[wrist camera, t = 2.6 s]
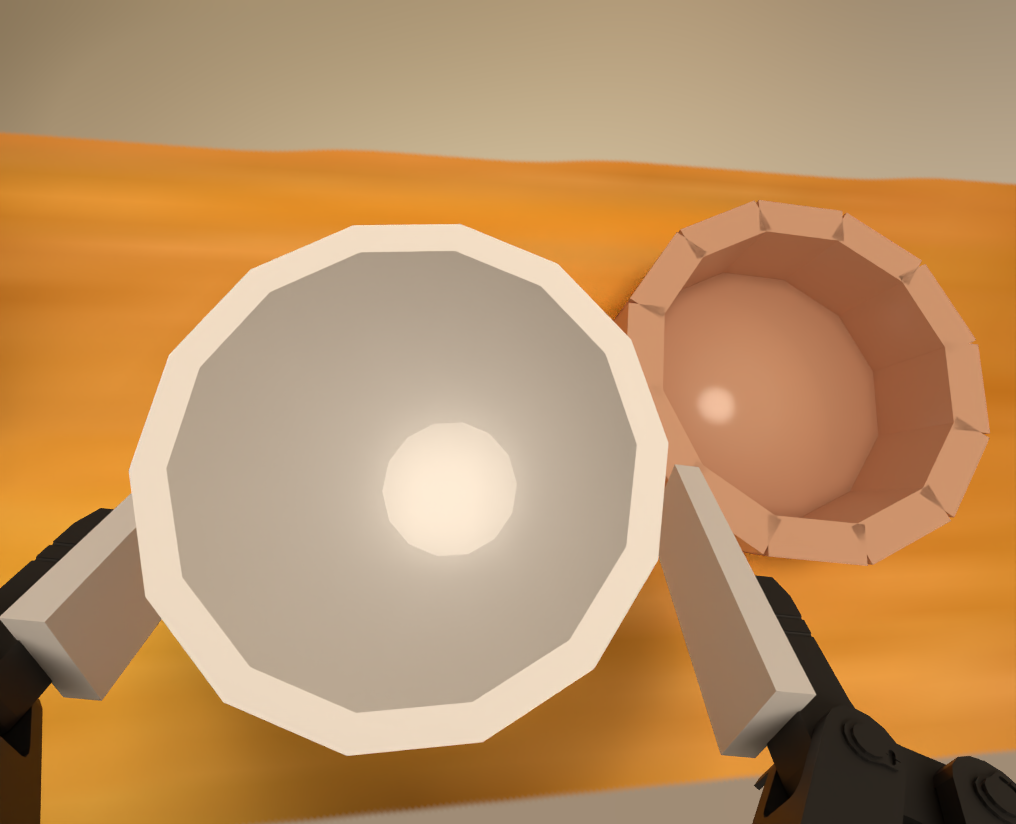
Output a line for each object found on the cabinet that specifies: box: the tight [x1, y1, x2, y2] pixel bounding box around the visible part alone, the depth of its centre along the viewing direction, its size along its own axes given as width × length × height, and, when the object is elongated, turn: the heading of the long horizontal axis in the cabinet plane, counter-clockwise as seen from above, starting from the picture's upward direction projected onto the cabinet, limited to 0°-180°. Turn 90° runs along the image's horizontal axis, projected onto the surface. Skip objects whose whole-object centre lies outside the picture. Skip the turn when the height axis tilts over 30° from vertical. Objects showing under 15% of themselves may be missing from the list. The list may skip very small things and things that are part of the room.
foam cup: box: [129, 224, 668, 756], centre depth 14 cm, size 10×9×13 cm
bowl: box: [614, 200, 990, 566], centre depth 20 cm, size 15×15×4 cm
